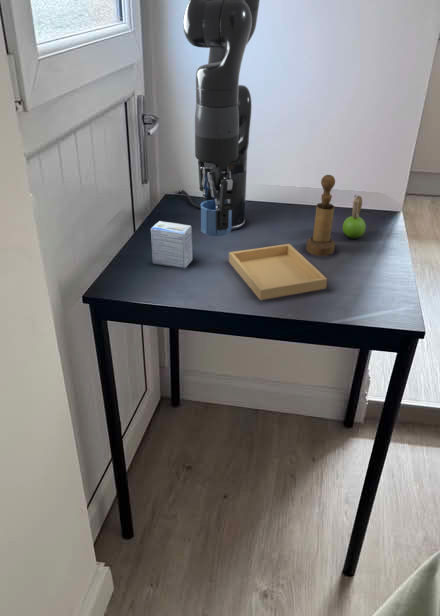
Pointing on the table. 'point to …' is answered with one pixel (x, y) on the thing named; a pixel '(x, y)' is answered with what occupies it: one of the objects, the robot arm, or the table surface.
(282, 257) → the tray
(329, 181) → the mortar and pestle
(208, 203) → the cup
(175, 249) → the medicine box
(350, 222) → the green ball with peg
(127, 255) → the table surface
